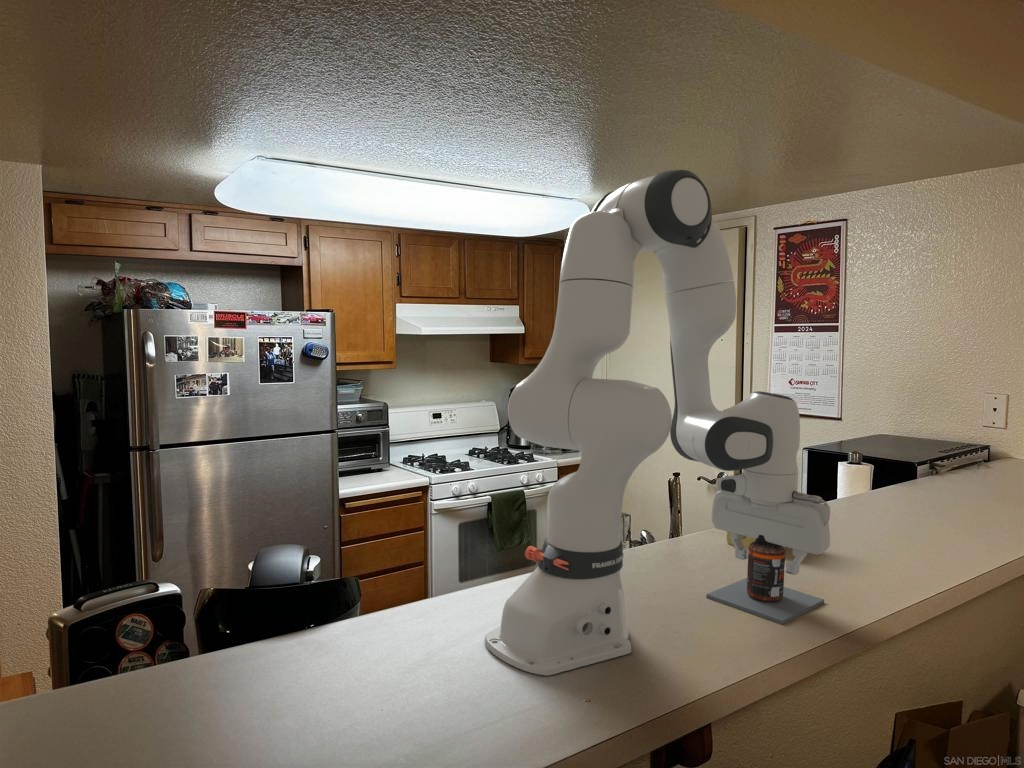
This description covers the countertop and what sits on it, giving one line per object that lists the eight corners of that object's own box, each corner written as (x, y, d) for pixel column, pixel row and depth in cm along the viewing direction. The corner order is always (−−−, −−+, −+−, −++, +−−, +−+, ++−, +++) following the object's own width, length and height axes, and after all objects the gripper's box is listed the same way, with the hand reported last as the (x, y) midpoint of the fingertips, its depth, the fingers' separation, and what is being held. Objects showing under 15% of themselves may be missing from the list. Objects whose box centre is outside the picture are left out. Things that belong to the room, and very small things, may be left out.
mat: (782, 624, 108) (782, 620, 108) (706, 597, 119) (706, 594, 119) (824, 602, 117) (824, 599, 117) (750, 579, 128) (750, 576, 128)
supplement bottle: (786, 605, 114) (789, 538, 114) (749, 601, 116) (751, 536, 115) (779, 591, 120) (782, 528, 119) (744, 588, 122) (746, 526, 121)
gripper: (839, 495, 111) (835, 578, 112) (727, 474, 126) (725, 547, 127) (820, 501, 107) (816, 587, 108) (708, 478, 122) (705, 554, 123)
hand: (766, 565), depth 118 cm, fingers open, 8 cm apart
